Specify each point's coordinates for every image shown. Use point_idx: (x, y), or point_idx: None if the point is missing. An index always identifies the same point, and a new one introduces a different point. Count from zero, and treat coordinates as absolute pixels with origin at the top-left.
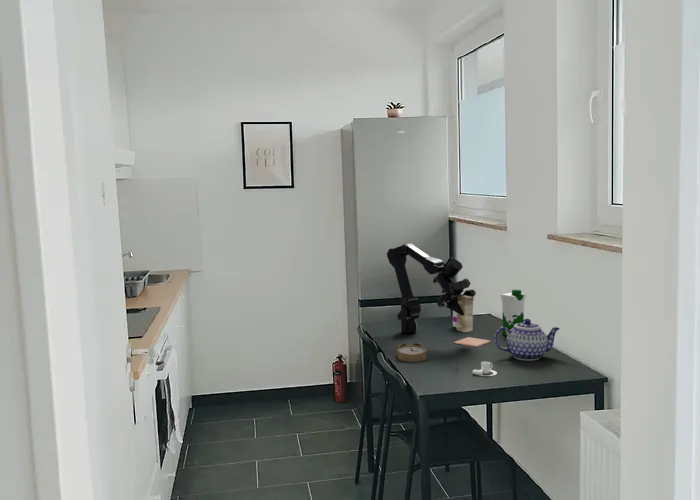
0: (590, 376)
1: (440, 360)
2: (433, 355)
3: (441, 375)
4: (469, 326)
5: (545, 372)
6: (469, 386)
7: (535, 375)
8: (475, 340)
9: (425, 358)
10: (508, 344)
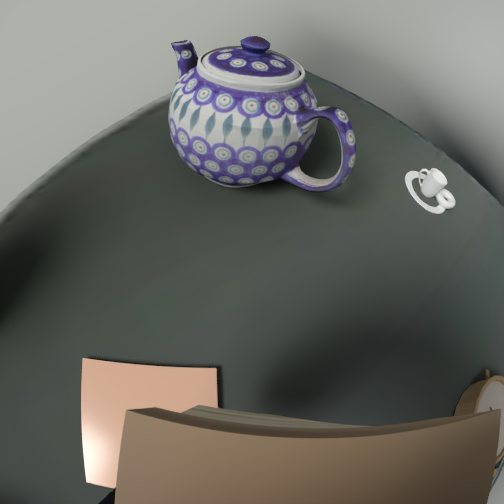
0: None
1: (452, 345)
2: (432, 409)
3: (493, 257)
4: (236, 411)
5: None
6: (475, 189)
7: (356, 117)
8: (120, 426)
9: (469, 387)
10: (304, 151)
